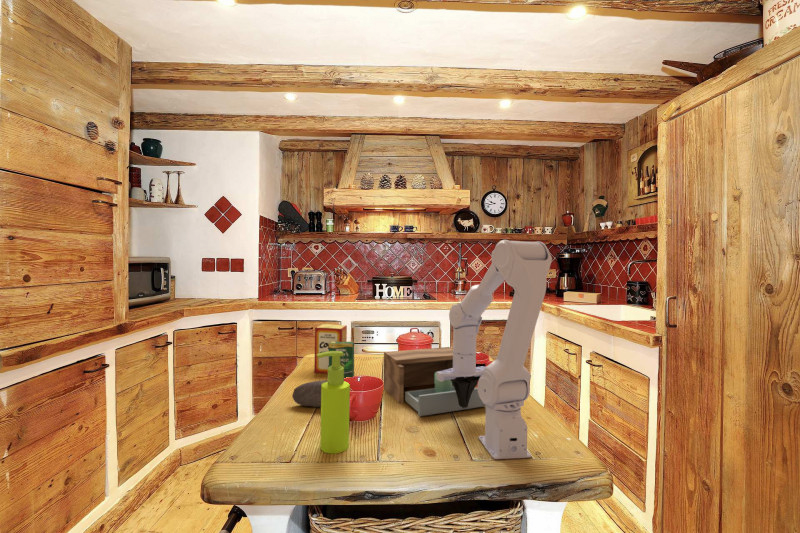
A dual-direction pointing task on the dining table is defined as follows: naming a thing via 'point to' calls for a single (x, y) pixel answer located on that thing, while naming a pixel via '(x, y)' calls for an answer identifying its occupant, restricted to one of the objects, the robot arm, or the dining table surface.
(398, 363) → the wooden drawer box
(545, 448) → the dining table surface
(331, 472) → the dining table surface
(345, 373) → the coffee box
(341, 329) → the red food box
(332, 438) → the soap dispenser
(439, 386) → the sea green cylinder
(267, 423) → the dining table surface
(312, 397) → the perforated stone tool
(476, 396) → the drawer tray
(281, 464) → the dining table surface
